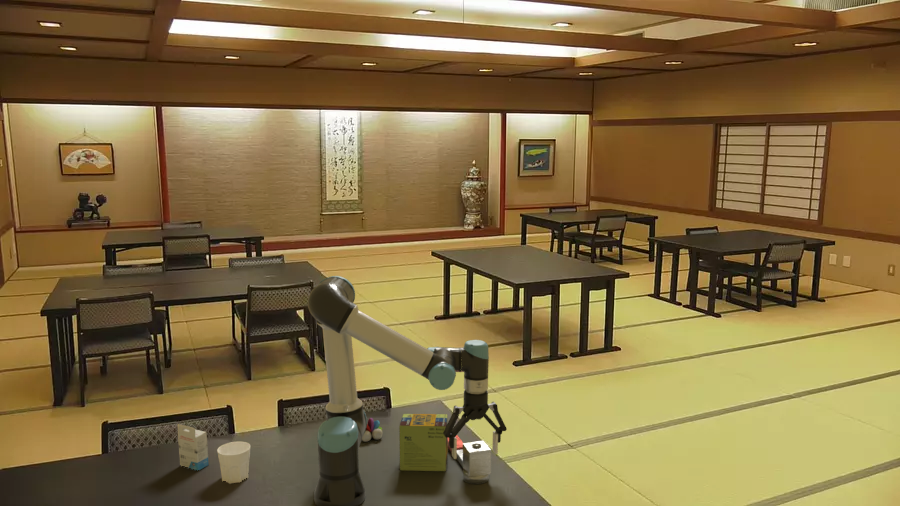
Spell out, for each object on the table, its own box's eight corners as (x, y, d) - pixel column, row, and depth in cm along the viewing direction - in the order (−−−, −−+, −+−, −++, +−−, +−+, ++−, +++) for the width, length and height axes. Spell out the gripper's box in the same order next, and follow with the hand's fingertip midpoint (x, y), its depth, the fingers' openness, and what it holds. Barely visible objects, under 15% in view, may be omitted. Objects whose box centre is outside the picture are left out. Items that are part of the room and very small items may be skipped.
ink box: (209, 465, 228) (206, 423, 225) (197, 471, 223) (195, 428, 221) (191, 460, 231) (188, 418, 229) (179, 466, 227) (176, 423, 225)
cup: (218, 486, 213) (216, 456, 211) (219, 472, 222) (218, 443, 221) (251, 482, 216) (250, 452, 214) (252, 468, 225) (250, 440, 224)
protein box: (446, 471, 222) (446, 426, 220) (399, 470, 223) (398, 425, 221) (448, 457, 233) (447, 413, 230) (403, 456, 233) (402, 413, 231)
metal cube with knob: (469, 476, 212) (469, 451, 211) (462, 467, 219) (462, 442, 218) (490, 473, 214) (490, 448, 213) (483, 464, 221) (483, 439, 220)
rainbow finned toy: (353, 435, 251) (352, 416, 250) (378, 431, 255) (377, 412, 254) (360, 444, 243) (359, 425, 242) (385, 439, 247) (385, 420, 246)
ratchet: (467, 485, 213) (467, 460, 211) (440, 445, 242) (440, 422, 241) (492, 482, 215) (492, 457, 214) (462, 442, 244) (462, 420, 243)
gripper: (440, 398, 206) (440, 464, 209) (517, 390, 213) (516, 455, 216) (433, 389, 213) (433, 454, 216) (508, 382, 220) (507, 445, 223)
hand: (474, 454), depth 216 cm, fingers open, 13 cm apart
